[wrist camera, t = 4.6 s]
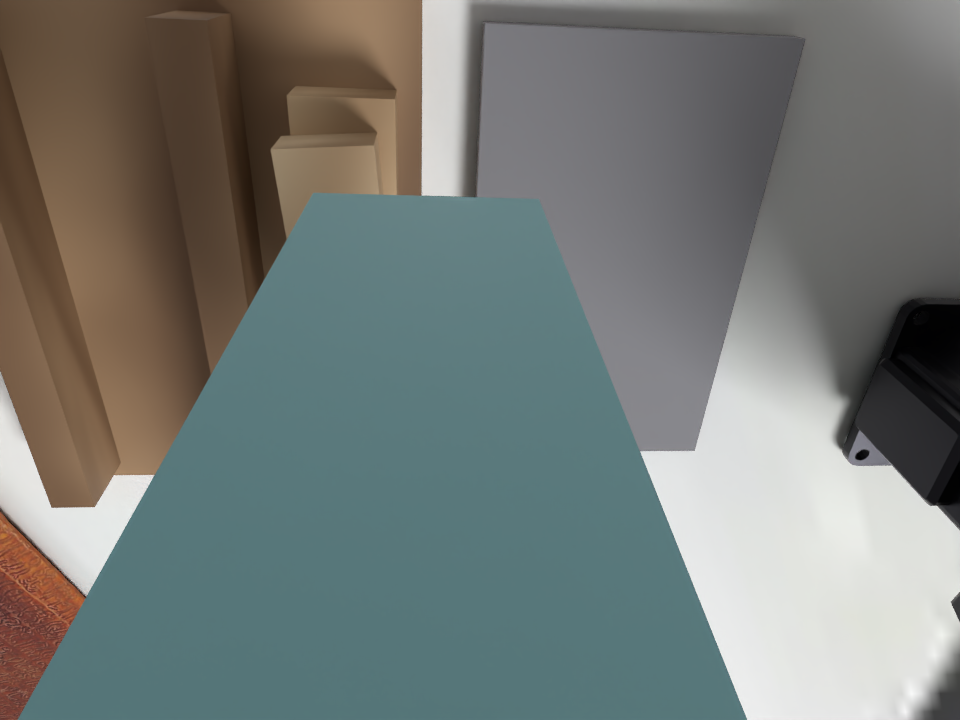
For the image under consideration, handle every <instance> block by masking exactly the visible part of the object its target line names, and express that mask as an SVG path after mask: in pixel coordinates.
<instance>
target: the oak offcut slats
mask: <svg viewBox="0 0 960 720" xmlns="http://www.w3.org/2000/svg"><path fill="white" fill-rule="evenodd" d="M287 105H288V115H289V126H290V136H281V137H280V138H279V139H278V141H277V142H276V143H275V144H274V146H273V147H272V148H271V155H272V161H273V166H274V172H275V177H276V183H277V188H278V194H279V199H280V205H281V211H282V216H283V222H284V227H285V233H286V238H288V237H289V235H290V233H291V231H292V230H293V228H294V226H295V224H296V222H297V221H298V219H299V217H300V215H301V213H302V212H303V210H304V208H305V206H306V205H307V203H308V201H309V199H310V197H311V196H312V194H313V193H341V194H378V195H398V137H397V90H386V89H360V88H334V87H308V86H295V87H294V88H293V89H292V90H291V91H290V92H289V93H288V95H287Z"/></svg>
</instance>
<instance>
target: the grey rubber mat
mask: <svg viewBox="0 0 960 720" xmlns="http://www.w3.org/2000/svg"><path fill="white" fill-rule="evenodd" d="M804 42H805V39H804V38H799V37H795V36H776V35H755V34H735V33H714V32H693V31H672V30H651V29H630V28H609V27H589V26H568V25H547V24H526V23H505V22H484V21H483V37H482V59H481V81H480V103H479V125H478V147H477V169H476V191H475V197H486V198H523V199H539V200H540V203H541V205H542V208H543V210H544V213H545V215H546V218H547V220H548V223H549V225H550V228H551V230H552V233H553V235H554V238H555V240H556V243H557V245H558V248H559V250H560V253H561V255H562V258H563V261H564V263H565V266H566V268H567V271H568V273H569V276H570V278H571V281H572V283H573V286H574V288H575V291H576V293H577V296H578V298H579V301H580V303H581V306H582V308H583V311H584V313H585V316H586V318H587V321H588V323H589V326H590V328H591V331H592V333H593V336H594V338H595V341H596V343H597V346H598V348H599V351H600V353H601V356H602V358H603V361H604V363H605V366H606V368H607V371H608V373H609V376H610V378H611V381H612V383H613V386H614V388H615V391H616V393H617V396H618V398H619V401H620V403H621V406H622V408H623V411H624V413H625V416H626V418H627V421H628V423H629V426H630V428H631V431H632V433H633V436H634V438H635V441H636V443H637V446H638V448H639V451H695V447H696V443H697V440H698V436H699V432H700V429H701V425H702V421H703V417H704V414H705V410H706V406H707V403H708V399H709V395H710V391H711V388H712V384H713V380H714V377H715V373H716V369H717V365H718V362H719V358H720V354H721V351H722V347H723V343H724V339H725V336H726V332H727V328H728V325H729V321H730V317H731V313H732V310H733V306H734V302H735V298H736V295H737V291H738V287H739V284H740V280H741V276H742V272H743V269H744V265H745V261H746V258H747V254H748V250H749V246H750V243H751V239H752V235H753V232H754V228H755V224H756V220H757V217H758V213H759V209H760V206H761V202H762V198H763V194H764V191H765V187H766V183H767V180H768V176H769V172H770V168H771V165H772V161H773V157H774V153H775V150H776V146H777V142H778V139H779V135H780V131H781V127H782V124H783V120H784V116H785V113H786V109H787V105H788V101H789V98H790V94H791V90H792V87H793V83H794V79H795V75H796V72H797V68H798V64H799V61H800V57H801V53H802V49H803V46H804Z"/></svg>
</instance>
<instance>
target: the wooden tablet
mask: <svg viewBox="0 0 960 720" xmlns="http://www.w3.org/2000/svg"><path fill="white" fill-rule="evenodd" d="M85 599H86V598H85V597H84V596H83V595H82V594H81V593H80V592H79V591H78V590H77V588H76V587H75V586H73V585H72V584H71V583H70V582H69V581H68V580H67V579H66V578H65V577H64V576H63V575H62V574H61V573H60V572H59V571H58V570H57V569H56V568H55V567H54V566H53V565H52V564H51V563H50V562H49V561H48V560H47V559H46V558H45V557H44V556H43V555H42V554H41V553H40V552H39V551H38V550H37V549H36V548H35V547H34V546H33V545H32V544H31V543H30V542H29V541H28V540H27V539H26V538H25V537H24V536H23V535H22V534H21V533H20V532H19V531H18V530H17V529H16V528H15V527H14V526H13V525H12V524H11V523H9V521H8V520H7V519H6V517H5V516H4V515H3V514H2V513H1V512H0V720H18V718H19V716H20V715H21V713H22V711H23V709H24V707H25V706H26V704H27V702H28V700H29V699H30V697H31V695H32V693H33V691H34V690H35V688H36V686H37V684H38V683H39V681H40V679H41V677H42V675H43V674H44V672H45V670H46V668H47V666H48V665H49V663H50V661H51V659H52V658H53V656H54V654H55V652H56V650H57V649H58V647H59V645H60V643H61V641H62V640H63V638H64V636H65V634H66V633H67V631H68V629H69V627H70V625H71V624H72V622H73V620H74V618H75V617H76V615H77V613H78V611H79V609H80V608H81V606H82V604H83V602H84V600H85Z"/></svg>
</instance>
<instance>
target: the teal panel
mask: <svg viewBox="0 0 960 720" xmlns="http://www.w3.org/2000/svg"><path fill="white" fill-rule="evenodd" d="M18 720H747V718H746V716H745V713H744V711H743V708H742V706H741V703H740V701H739V698H738V696H737V693H736V691H735V688H734V686H733V683H732V681H731V678H730V676H729V673H728V671H727V668H726V666H725V663H724V661H723V658H722V656H721V653H720V651H719V648H718V646H717V643H716V641H715V638H714V636H713V633H712V631H711V628H710V626H709V623H708V621H707V618H706V616H705V613H704V611H703V608H702V606H701V603H700V601H699V598H698V596H697V593H696V591H695V588H694V586H693V583H692V581H691V578H690V576H689V573H688V571H687V568H686V566H685V563H684V561H683V558H682V556H681V553H680V551H679V548H678V546H677V543H676V541H675V538H674V536H673V533H672V531H671V528H670V526H669V523H668V521H667V518H666V516H665V513H664V511H663V508H662V506H661V503H660V501H659V498H658V496H657V493H656V491H655V488H654V486H653V483H652V481H651V478H650V476H649V473H648V471H647V468H646V466H645V463H644V461H643V458H642V456H641V453H640V451H639V448H638V446H637V443H636V441H635V438H634V436H633V433H632V431H631V428H630V426H629V423H628V421H627V418H626V416H625V413H624V411H623V408H622V406H621V403H620V401H619V398H618V396H617V393H616V391H615V388H614V386H613V383H612V381H611V378H610V376H609V373H608V371H607V368H606V366H605V363H604V361H603V358H602V356H601V353H600V351H599V348H598V346H597V343H596V341H595V338H594V336H593V333H592V331H591V328H590V326H589V323H588V321H587V318H586V316H585V313H584V311H583V308H582V306H581V303H580V301H579V298H578V296H577V293H576V291H575V288H574V286H573V283H572V281H571V278H570V276H569V273H568V271H567V268H566V266H565V263H564V261H563V258H562V255H561V253H560V250H559V248H558V245H557V243H556V240H555V238H554V235H553V233H552V230H551V228H550V225H549V223H548V220H547V218H546V215H545V213H544V210H543V208H542V205H541V203H540V200H539V199H523V198H486V197H450V196H414V195H378V194H341V193H313V194H312V196H311V197H310V199H309V201H308V203H307V205H306V206H305V208H304V210H303V212H302V213H301V215H300V217H299V219H298V221H297V222H296V224H295V226H294V228H293V230H292V231H291V233H290V235H289V237H288V238H287V240H286V242H285V244H284V246H283V247H282V249H281V251H280V253H279V254H278V256H277V258H276V260H275V262H274V263H273V265H272V267H271V269H270V271H269V272H268V274H267V276H266V278H265V279H264V281H263V283H262V285H261V287H260V288H259V290H258V292H257V294H256V296H255V297H254V299H253V301H252V303H251V304H250V306H249V308H248V310H247V312H246V313H245V315H244V317H243V319H242V320H241V322H240V324H239V326H238V328H237V329H236V331H235V333H234V335H233V337H232V338H231V340H230V342H229V344H228V345H227V347H226V349H225V351H224V353H223V354H222V356H221V358H220V360H219V361H218V363H217V365H216V367H215V369H214V370H213V372H212V374H211V376H210V378H209V379H208V381H207V383H206V385H205V386H204V388H203V390H202V392H201V394H200V395H199V397H198V399H197V401H196V403H195V404H194V406H193V408H192V410H191V411H190V413H189V415H188V417H187V419H186V420H185V422H184V424H183V426H182V427H181V429H180V431H179V433H178V435H177V436H176V438H175V440H174V442H173V444H172V445H171V447H170V449H169V451H168V452H167V454H166V456H165V458H164V460H163V461H162V463H161V465H160V467H159V469H158V470H157V472H156V474H155V476H154V477H153V479H152V481H151V483H150V485H149V486H148V488H147V490H146V492H145V493H144V495H143V497H142V499H141V501H140V502H139V504H138V506H137V508H136V510H135V511H134V513H133V515H132V517H131V518H130V520H129V522H128V524H127V526H126V527H125V529H124V531H123V533H122V534H121V536H120V538H119V540H118V542H117V543H116V545H115V547H114V549H113V551H112V552H111V554H110V556H109V558H108V559H107V561H106V563H105V565H104V567H103V568H102V570H101V572H100V574H99V576H98V577H97V579H96V581H95V583H94V584H93V586H92V588H91V590H90V592H89V593H88V595H87V597H86V599H85V600H84V602H83V604H82V606H81V608H80V609H79V611H78V613H77V615H76V617H75V618H74V620H73V622H72V624H71V625H70V627H69V629H68V631H67V633H66V634H65V636H64V638H63V640H62V641H61V643H60V645H59V647H58V649H57V650H56V652H55V654H54V656H53V658H52V659H51V661H50V663H49V665H48V666H47V668H46V670H45V672H44V674H43V675H42V677H41V679H40V681H39V683H38V684H37V686H36V688H35V690H34V691H33V693H32V695H31V697H30V699H29V700H28V702H27V704H26V706H25V707H24V709H23V711H22V713H21V715H20V716H19V718H18Z"/></svg>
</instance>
